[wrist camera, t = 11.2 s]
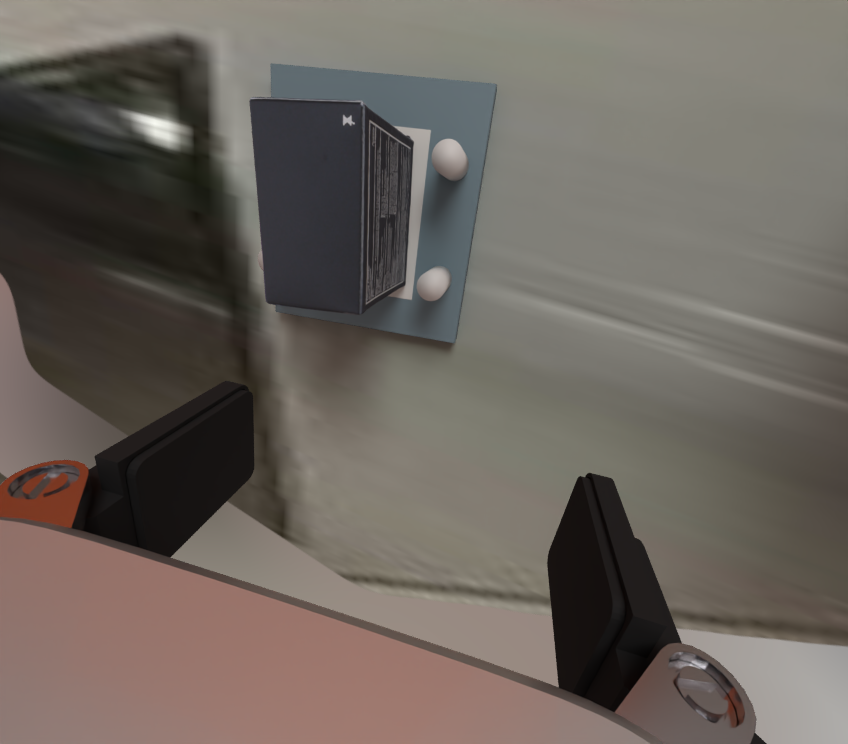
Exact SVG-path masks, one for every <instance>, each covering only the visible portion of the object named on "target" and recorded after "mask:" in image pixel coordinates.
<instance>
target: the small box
mask: <svg viewBox="0 0 848 744" xmlns="http://www.w3.org/2000/svg"><path fill="white" fill-rule="evenodd" d="M250 111H251V123H252V137H253V148H254V159H255V171H256V183H257V195H258V207H259V219H260V232H261V245H262V257H263V270H264V283H265V296H266V302H267V303H268V304H273V305H279V306H286V307H295V308H302V309H309V310H318V311H326V312H335V313H343V314H351V315H361V314H363V313H364V312H365V311H366V310H367V309H369V308H370V307H371V306H373V305H374V304H376V303H377V302H379V301H381V300H382V299H384V298H385V297H387V296H388V295H390V294H392V293H393V292H395V291H396V290H398V289H399V288H402V287H404V286H405V285H406V269H407V252H408V242H409V241H408V236H409V218H410V205H411V184H412V165H413V146H414V141H413V140H412V139H411V138H410V136H408V135H404V134H403V133H402V132H400V131H399V130H398V129H396V128H395V127H394V126H392V125H391V124H390V123H388V122H387V121H386V120H384V119H383V118H381V117H380V116H379V115H377V114H376V113H375V112H373V111H372V110H371V109H369V108H368V107H367V106H366V104H365V103H364V102H363V101H362V100H329V99H300V98H273V97H267V98H265V97H252V98H250Z"/></svg>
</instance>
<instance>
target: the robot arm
mask: <svg viewBox="0 0 848 744" xmlns="http://www.w3.org/2000/svg"><path fill="white" fill-rule="evenodd" d="M95 460H96V466H94V467H93V468H91V469H88V467H87V466H86V465H85V464H83V463H80V462H78V461H73V460H55V461H49V462H44V463H40V464H37V465H34V466H30V467H27V468H25V469H23V470H21V471H19V472H17V473H15V474H13V475H12V476H10V477H9V478H7V479H6V480H4V482H3V483H2V484H1V485H0V744H766V743H765V742H764V741H763V740H762V739H761V738H760V737H759V736H758V735H757V734H756V733H755V727H756V716H755V712H754V709H753V705H752V703H751V701H750V700H749V698H748V696H747V694H746V692H745V691H744V689H743V688H742V687H741V685H740V684H739V683H738V681H737V680H736V679H735V678H734V676H733V675H732V674H731V673H730V672H729V671H728V670H727V669H726V668H725V667H723V666H722V665H721V664H720V663H719V662H718V661H717V660H715V659H714V658H712V657H711V656H709V655H708V654H706V653H705V652H703V651H701V650H699V649H697V648H695V647H693V646H690V645H686V644H682V643H681V640H680V637H679V635H678V632H677V630H676V627H675V624H674V622H673V619H672V617H671V614H670V612H669V609H668V606H667V604H666V601H665V599H664V596H663V594H662V591H661V588H660V586H659V583H658V581H657V578H656V576H655V573H654V570H653V568H652V565H651V563H650V560H649V558H648V555H647V552H646V550H645V547H644V545H643V544H642V542H641V541H640V540H639V539H637V538H635V537H634V535H633V532H632V529H631V527H630V524H629V521H628V519H627V516H626V513H625V510H624V508H623V505H622V502H621V500H620V497H619V494H618V492H617V489H616V486H615V483H614V481H613V479H611V478H608V477H604V476H600V475H596V474H592V473H588V474H587V475H586V477H581V476H580V477H578V479H577V481H576V484H575V486H574V489H573V491H572V494H571V496H570V499H569V502H568V504H567V507H566V509H565V512H564V514H563V517H562V519H561V522H560V525H559V527H558V530H557V532H556V535H555V537H554V540H553V542H552V545H551V548H550V550H549V554H548V562H547V564H548V576H549V587H550V598H551V608H552V619H553V629H554V641H555V651H556V662H557V672H558V683H559V688H558V687H556V686H553V685H551V684H548V683H545V682H543V681H540V680H537V679H534V678H531V677H529V676H526V675H523V674H520V673H517V672H514V671H511V670H509V669H506V668H503V667H500V666H497V665H494V664H492V663H489V662H486V661H483V660H480V659H477V658H475V657H472V656H469V655H465V654H463V653H460V652H457V651H453V650H451V649H448V648H445V647H442V646H439V645H436V644H433V643H430V642H427V641H424V640H420V639H418V638H414V637H412V636H409V635H406V634H403V633H400V632H397V631H394V630H391V629H388V628H385V627H382V626H379V625H376V624H373V623H370V622H367V621H364V620H361V619H358V618H354V617H352V616H349V615H346V614H342V613H339V612H336V611H333V610H330V609H327V608H324V607H321V606H318V605H315V604H312V603H309V602H306V601H303V600H300V599H297V598H294V597H291V596H288V595H284V594H281V593H278V592H275V591H272V590H269V589H266V588H263V587H260V586H257V585H254V584H251V583H248V582H245V581H241V580H238V579H235V578H232V577H229V576H226V575H223V574H220V573H217V572H213V571H210V570H207V569H204V568H201V567H198V566H195V565H191V564H188V563H185V562H182V561H179V560H176V559H173V558H170V557H171V556H172V555H173V554H174V553H175V552H176V551H177V550H178V549H179V548H180V547H181V546H182V545H183V544H184V543H185V542H186V541H187V540H188V539H189V538H190V537H191V536H192V535H193V534H194V533H195V532H196V531H197V530H198V529H199V528H200V527H201V526H202V525H203V524H204V523H205V522H206V521H207V520H208V519H209V518H210V517H211V516H212V515H213V514H214V513H215V512H216V511H217V510H218V509H219V508H220V507H221V506H222V505H223V504H224V503H225V502H226V501H227V500H228V499H229V498H230V497H231V496H232V495H233V494H234V493H235V492H236V491H237V490H238V489H239V488H240V487H241V486H242V485H243V484H245V483H246V482H247V481H248V479H249V478H250V477H251V475H252V473H253V470H254V425H253V395H252V393H251V392H249V389H248V387H247V386H245V385H242V384H238V383H234V382H230V381H225V382H223V383H221V384H219V385H217V386H216V387H214V388H212V389H210V390H209V391H207V392H205V393H203V394H202V395H200V396H198V397H196V398H195V399H193V400H191V401H189V402H188V403H186V404H184V405H183V406H181V407H179V408H177V409H176V410H174V411H172V412H170V413H169V414H167V415H165V416H163V417H162V418H160V419H158V420H156V421H155V422H153V423H151V424H150V425H148V426H146V427H144V428H143V429H141V430H139V431H137V432H136V433H134V434H132V435H130V436H129V437H127V438H125V439H123V440H122V441H120V442H118V443H117V444H115V445H113V446H111V447H110V448H108V449H106V450H104V451H103V452H101V453H99V454H97V455H96V456H95Z"/></svg>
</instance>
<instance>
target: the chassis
mask: <svg viewBox="0 0 848 744" xmlns="http://www.w3.org/2000/svg"><path fill="white" fill-rule="evenodd" d="M496 91H497V84H491V83H480V82H469V81H458V80H447V79H436V78H425V77H414V76H403V75H392V74H381V73H370V72H359V71H348V70H337V69H326V68H315V67H304V66H293V65H282V64H271V97H273V98H300V99H329V100H362V101H363V102H364V103H365V104H366V106H367V107H368V108H369V109H371V110H372V111H373V112H375V113H376V114H377V115H379V116H380V117H381V118H383V119H384V120H386V121H387V122H388V123H390V124H391V125H392V126H394V127H395V128H396V129H398V130H399V131H400V132H402V133H403V134H404V135H408V136H410V138H411V139H412V140H413V141H414V146H413V165H412V184H411V205H410V218H409V236H408V241H409V242H408V252H407V269H406V285H405V286H404V287H402V288H399V289H398V290H396V291H395V292H393V293H392V294H390V295H388V296H387V297H385V298H384V299H382V300H381V301H379V302H377V303H376V304H374V305H373V306H371V307H370V308H369V309H367V310H366V311H365V312H364V313H363V314H361V315H351V314H343V313H335V312H326V311H318V310H309V309H302V308H295V307H286V306H279V305H276V312H280V313H286V314H292V315H297V316H303V317H309V318H314V319H320V320H326V321H331V322H337V323H343V324H348V325H354V326H360V327H365V328H371V329H377V330H382V331H388V332H394V333H399V334H405V335H411V336H416V337H422V338H428V339H433V340H439V341H445V342H450V343H455V341H456V338H457V331H458V325H459V319H460V313H461V307H462V301H463V294H464V288H465V282H466V276H467V270H468V264H469V257H470V251H471V245H472V239H473V233H474V227H475V221H476V214H477V208H478V202H479V196H480V190H481V184H482V177H483V171H484V165H485V159H486V153H487V147H488V140H489V134H490V128H491V122H492V116H493V110H494V104H495V97H496ZM258 262H259V265H260V267H261V269H262V270H263V257H262V250H261V251H260V253H259V255H258ZM263 271H264V270H263Z"/></svg>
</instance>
